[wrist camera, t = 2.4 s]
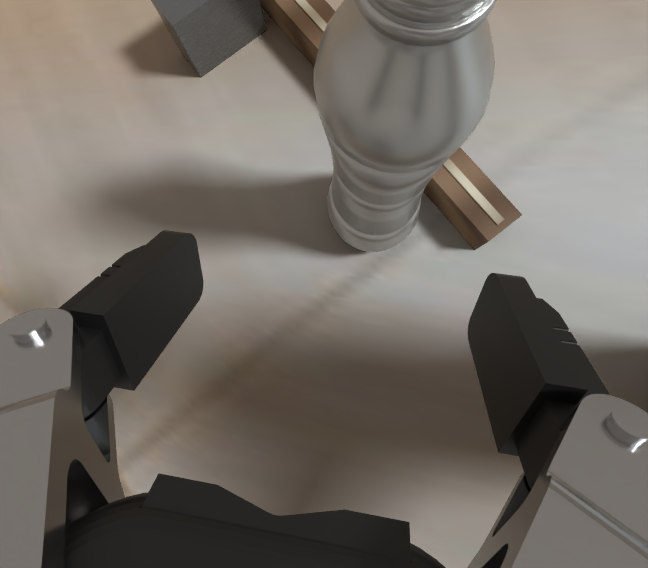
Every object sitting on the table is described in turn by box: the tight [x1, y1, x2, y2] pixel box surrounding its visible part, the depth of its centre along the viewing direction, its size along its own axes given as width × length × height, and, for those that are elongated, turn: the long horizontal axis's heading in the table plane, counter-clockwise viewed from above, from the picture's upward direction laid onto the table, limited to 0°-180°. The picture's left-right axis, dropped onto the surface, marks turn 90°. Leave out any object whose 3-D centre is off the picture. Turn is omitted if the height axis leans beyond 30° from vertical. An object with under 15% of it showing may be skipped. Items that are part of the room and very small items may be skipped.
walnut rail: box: [259, 0, 522, 250], centre depth 27 cm, size 28×3×3 cm, turn 38°
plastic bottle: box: [314, 0, 496, 252], centre depth 17 cm, size 6×7×20 cm
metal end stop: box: [151, 0, 267, 77], centre depth 27 cm, size 3×7×5 cm, turn 128°
